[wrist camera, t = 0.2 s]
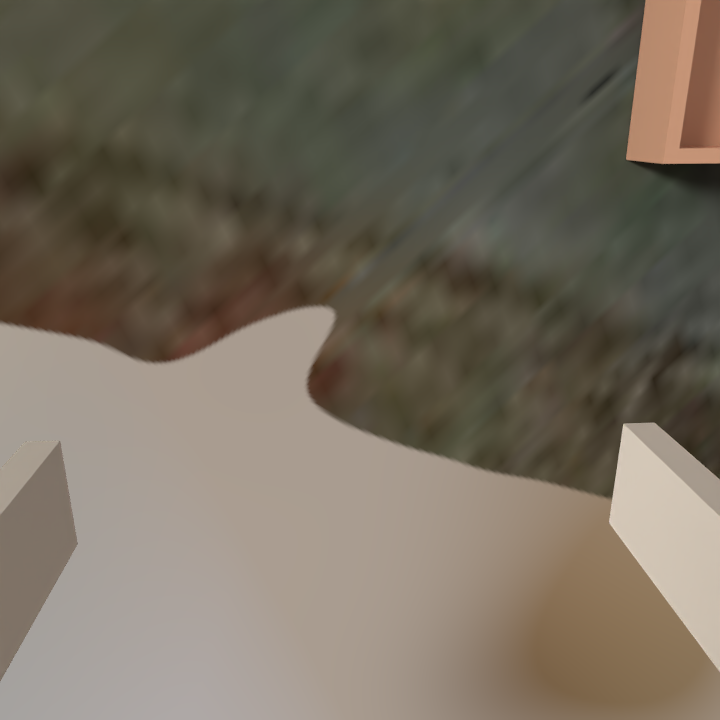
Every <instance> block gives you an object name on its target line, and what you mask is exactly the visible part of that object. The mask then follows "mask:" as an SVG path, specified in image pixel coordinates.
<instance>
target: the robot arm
mask: <svg viewBox="0 0 720 720" xmlns="http://www.w3.org/2000/svg"><path fill="white" fill-rule="evenodd" d="M609 523H610V525H611V526H612V527H613V529H614V530H615V532H616V533H617V534H618V535H619V537H620V538H621V540H622V541H623V542H624V544H625V545H626V546H627V548H628V549H629V550H630V551H631V553H632V554H633V555H634V557H635V558H636V560H637V561H638V562H639V564H640V565H641V567H642V568H643V569H644V571H645V572H646V573H647V575H648V576H649V577H650V578H651V580H652V581H653V583H654V584H655V585H656V587H657V588H658V589H659V591H660V592H661V593H662V595H663V596H664V597H665V599H666V600H667V601H668V603H669V604H670V606H671V607H672V608H673V610H674V611H675V612H676V614H677V615H678V616H679V618H680V619H681V620H682V622H683V623H684V624H685V626H686V627H687V628H688V629H689V631H690V632H691V634H692V635H693V636H694V638H695V639H696V640H697V642H698V643H699V645H700V646H701V647H702V649H703V650H704V651H705V652H706V654H707V655H708V656H709V658H710V659H711V661H712V662H713V663H714V665H715V666H716V667H717V669H718V670H719V671H720V479H718V478H717V477H716V476H715V475H714V474H713V473H712V472H710V471H709V470H708V469H707V468H706V467H705V466H704V465H702V464H701V463H700V462H699V461H698V460H697V459H696V458H694V457H693V456H692V455H691V454H690V453H689V452H688V451H686V450H685V449H684V448H683V447H682V446H681V445H679V444H678V443H677V442H676V441H675V440H674V439H673V438H671V437H670V436H669V435H668V434H667V433H666V432H665V431H663V430H662V429H661V428H660V427H659V426H658V425H657V424H655V423H630V424H623V430H622V437H621V444H620V451H619V458H618V465H617V472H616V479H615V485H614V492H613V499H612V506H611V514H610V520H609ZM77 544H78V543H77V537H76V532H75V526H74V520H73V514H72V509H71V502H70V496H69V491H68V485H67V479H66V473H65V467H64V461H63V456H62V450H61V443H60V441H35V442H25V443H24V444H23V445H22V446H21V447H20V448H19V449H18V451H16V453H15V454H14V455H13V456H12V457H11V458H10V459H9V460H8V461H7V462H6V464H5V465H4V466H3V467H2V468H1V469H0V681H1V679H2V677H3V675H4V674H5V672H6V670H7V668H8V667H9V665H10V663H11V661H12V659H13V658H14V656H15V654H16V653H17V651H18V649H19V647H20V645H21V644H22V642H23V640H24V638H25V636H26V635H27V633H28V631H29V629H30V628H31V625H32V624H33V622H34V620H35V619H36V617H37V615H38V613H39V612H40V610H41V608H42V606H43V604H44V603H45V601H46V599H47V597H48V596H49V594H50V592H51V590H52V588H53V587H54V585H55V583H56V581H57V580H58V578H59V576H60V574H61V573H62V571H63V569H64V567H65V566H66V564H67V562H68V560H69V558H70V556H71V555H72V553H73V551H74V550H75V548H76V546H77Z"/></svg>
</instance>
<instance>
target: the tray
mask: <svg viewBox="0 0 720 720" xmlns="http://www.w3.org/2000/svg"><path fill="white" fill-rule="evenodd" d="M626 160H632V161H641V162H651V163H660V164H699V163H720V0H646V2H645V10H644V18H643V26H642V34H641V43H640V51H639V59H638V67H637V75H636V83H635V91H634V99H633V107H632V115H631V124H630V132H629V140H628V148H627V156H626Z"/></svg>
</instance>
